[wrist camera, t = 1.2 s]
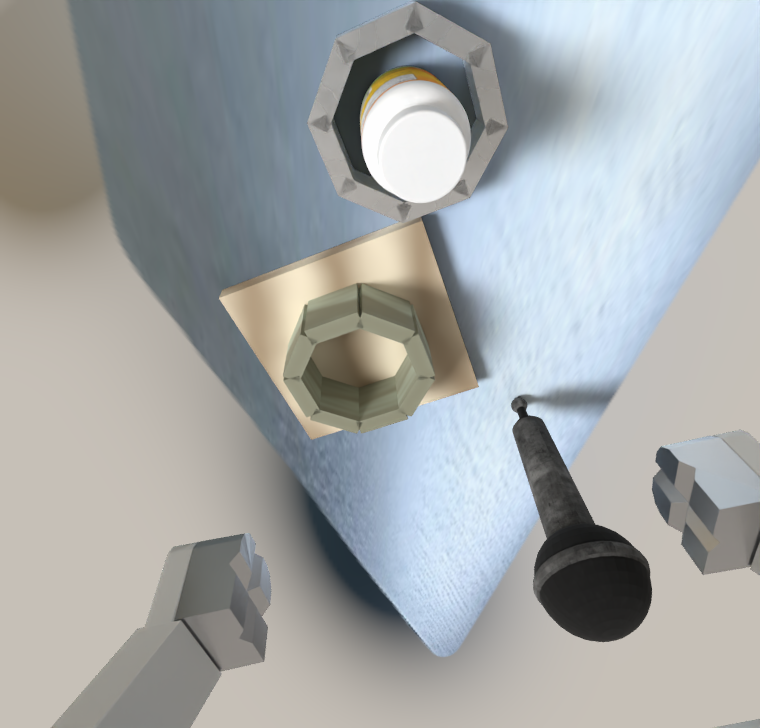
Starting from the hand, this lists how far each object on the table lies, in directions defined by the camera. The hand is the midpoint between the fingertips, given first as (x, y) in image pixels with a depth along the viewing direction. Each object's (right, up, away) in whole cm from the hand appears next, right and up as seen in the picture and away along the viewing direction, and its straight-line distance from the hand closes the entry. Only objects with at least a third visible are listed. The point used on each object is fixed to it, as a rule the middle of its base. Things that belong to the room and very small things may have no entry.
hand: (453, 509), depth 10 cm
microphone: (+10, 0, +34) cm, 36 cm away
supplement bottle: (0, +18, +20) cm, 27 cm away
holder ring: (0, +18, +20) cm, 27 cm away
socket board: (-3, +5, +29) cm, 30 cm away
